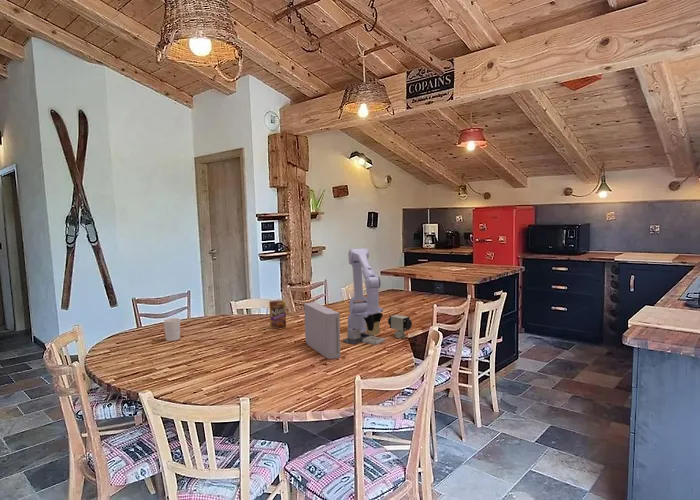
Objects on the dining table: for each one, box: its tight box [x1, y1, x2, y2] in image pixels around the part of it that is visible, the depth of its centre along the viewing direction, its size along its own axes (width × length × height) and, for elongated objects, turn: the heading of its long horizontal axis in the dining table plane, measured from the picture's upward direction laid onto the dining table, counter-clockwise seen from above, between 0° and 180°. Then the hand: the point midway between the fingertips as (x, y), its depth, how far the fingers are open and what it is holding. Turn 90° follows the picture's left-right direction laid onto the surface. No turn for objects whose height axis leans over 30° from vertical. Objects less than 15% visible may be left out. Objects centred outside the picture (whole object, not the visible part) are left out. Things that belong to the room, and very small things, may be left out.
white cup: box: [163, 317, 181, 342], centre depth 233 cm, size 8×8×10 cm
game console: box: [303, 301, 341, 360], centre depth 209 cm, size 6×27×20 cm, turn 27°
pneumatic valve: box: [387, 313, 413, 339], centre depth 228 cm, size 6×12×12 cm, turn 46°
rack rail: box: [342, 331, 375, 346], centre depth 225 cm, size 7×17×2 cm, turn 143°
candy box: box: [269, 299, 287, 330], centre depth 251 cm, size 9×4×15 cm, turn 98°
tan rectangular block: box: [366, 320, 381, 336], centre depth 221 cm, size 4×4×6 cm
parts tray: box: [361, 335, 386, 346], centre depth 221 cm, size 8×8×2 cm
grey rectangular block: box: [346, 328, 361, 341], centre depth 222 cm, size 4×4×6 cm
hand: (373, 329), depth 221 cm, fingers closed on tan rectangular block, 4 cm apart
